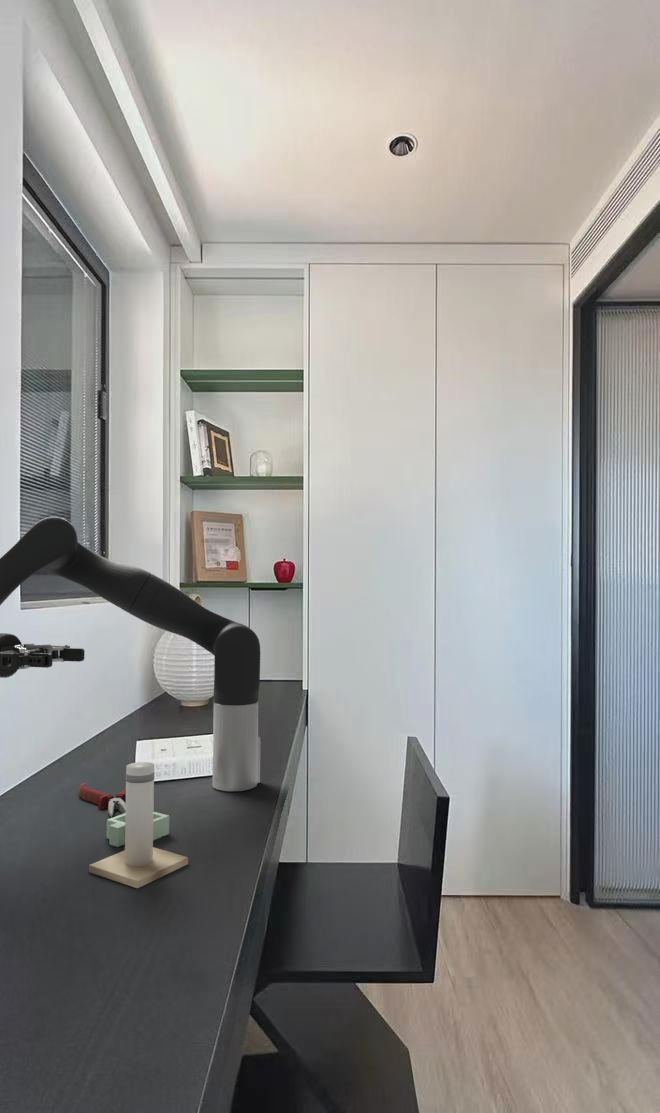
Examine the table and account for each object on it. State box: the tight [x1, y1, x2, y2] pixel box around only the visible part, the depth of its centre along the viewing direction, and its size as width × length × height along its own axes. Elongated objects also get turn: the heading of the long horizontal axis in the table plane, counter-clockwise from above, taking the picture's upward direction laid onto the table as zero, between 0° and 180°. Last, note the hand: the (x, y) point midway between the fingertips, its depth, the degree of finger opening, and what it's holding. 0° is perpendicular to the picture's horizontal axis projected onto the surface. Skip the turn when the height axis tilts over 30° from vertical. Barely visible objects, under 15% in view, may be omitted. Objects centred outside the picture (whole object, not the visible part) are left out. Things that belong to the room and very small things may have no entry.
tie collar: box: [105, 811, 170, 848], centre depth 117 cm, size 9×7×3 cm
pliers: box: [78, 781, 126, 818], centre depth 135 cm, size 12×20×3 cm, turn 23°
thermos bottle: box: [124, 761, 155, 867], centre depth 105 cm, size 4×4×14 cm
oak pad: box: [88, 846, 189, 889], centre depth 105 cm, size 10×10×1 cm
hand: (67, 657), depth 118 cm, fingers open, 8 cm apart
